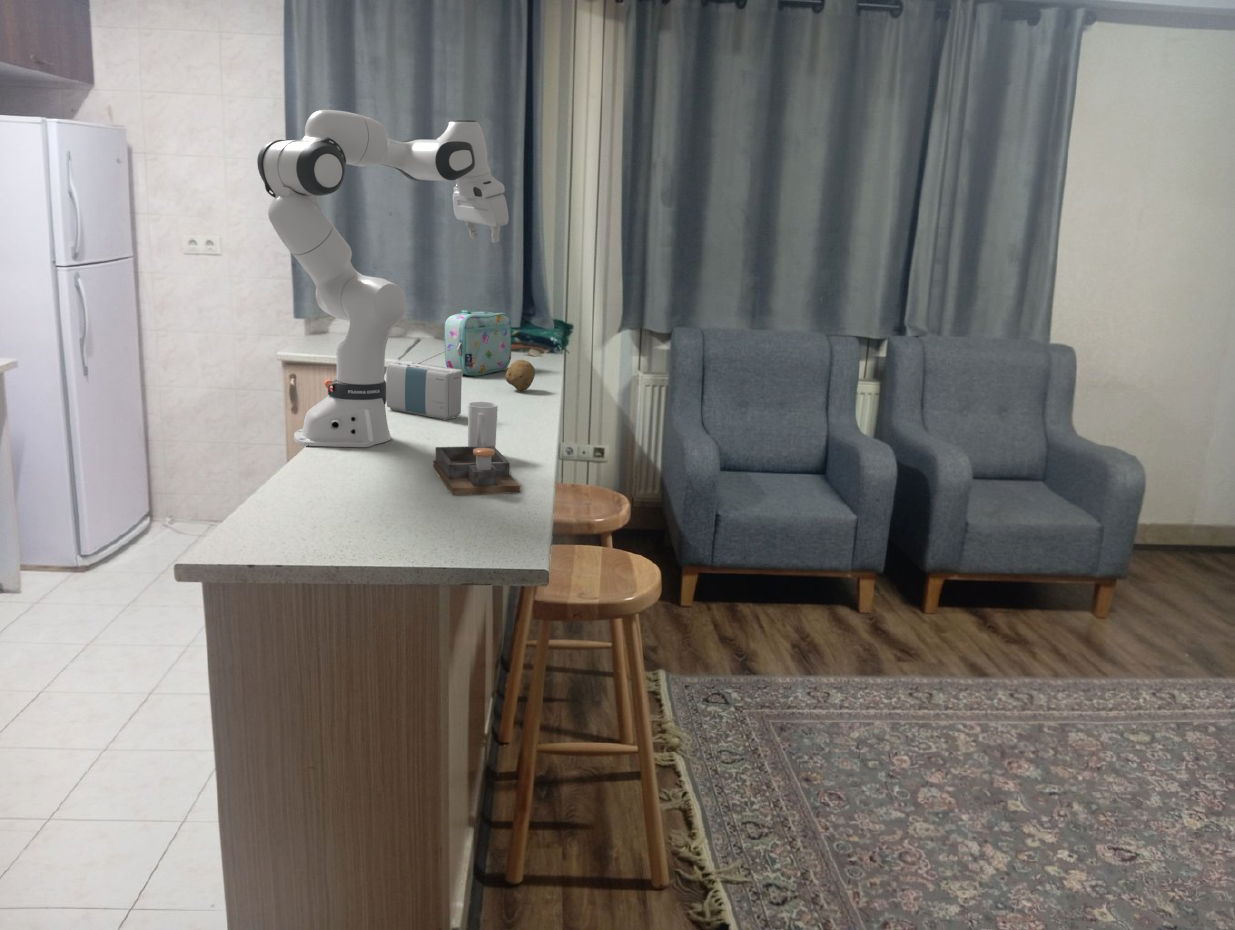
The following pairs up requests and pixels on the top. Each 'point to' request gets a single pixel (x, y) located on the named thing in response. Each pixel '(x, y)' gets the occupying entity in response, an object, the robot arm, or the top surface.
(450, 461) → the board
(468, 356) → the lunch box
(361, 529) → the top surface
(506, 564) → the top surface
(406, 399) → the stereo radio cassette player
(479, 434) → the mug
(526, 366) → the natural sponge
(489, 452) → the click button
